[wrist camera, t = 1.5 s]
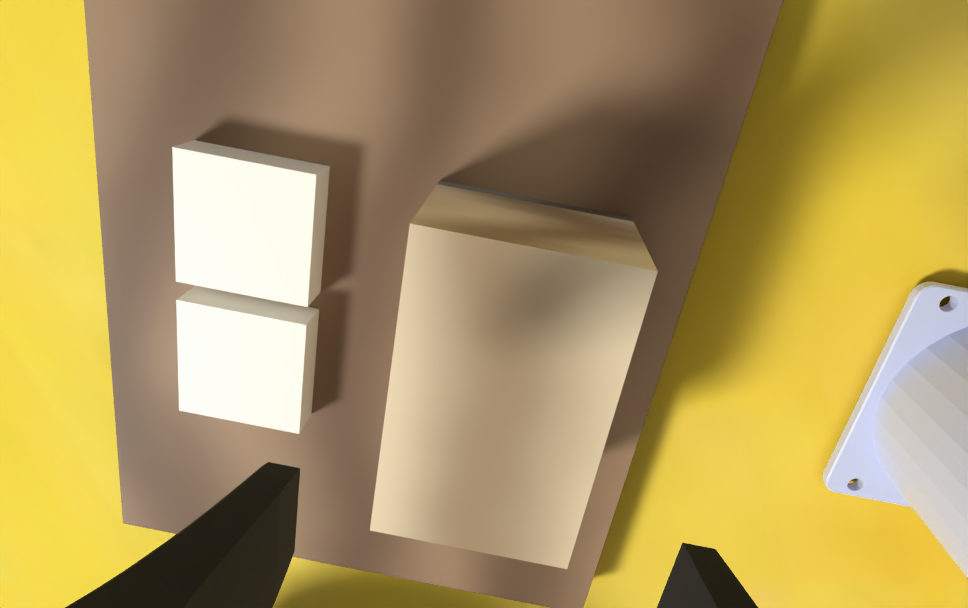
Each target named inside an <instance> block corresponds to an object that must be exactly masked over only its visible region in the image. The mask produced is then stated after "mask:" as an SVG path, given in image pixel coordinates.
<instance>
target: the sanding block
mask: <svg viewBox="0 0 968 608" xmlns="http://www.w3.org/2000/svg"><path fill="white" fill-rule="evenodd" d="M657 273H658V271H657V268H656V266H655V264H654V262H653V260H652V258H651V256H650V254H649V252H648V250H647V248H646V246H645V244H644V242H643V240H642V238H641V236H640V234H639V231H638V229H637V227H636V225H635V223H634V221H633V219H632V217H628V216H623V215H618V214H613V213H607V212H602V211H597V210H592V209H587V208H581V207H576V206H571V205H566V204H560V203H555V202H550V201H545V200H540V199H534V198H529V197H524V196H519V195H514V194H508V193H503V192H498V191H493V190H487V189H482V188H477V187H472V186H467V185H461V184H456V183H451V182H446V181H441V180H440V181H439V182H438V183H437V185H436V186H435V188H434V189H433V191H432V192H431V194H430V195H429V196H428V198H427V199H426V201H425V202H424V204H423V205H422V207H421V208H420V209H419V211H418V212H417V214H416V215H415V217H414V218H413V220H412V221H411V222H410V226H409V233H408V241H407V249H406V256H405V264H404V272H403V279H402V287H401V295H400V302H399V310H398V318H397V325H396V333H395V341H394V348H393V356H392V364H391V371H390V379H389V387H388V394H387V402H386V410H385V417H384V425H383V433H382V440H381V448H380V456H379V463H378V471H377V479H376V487H375V494H374V502H373V510H372V517H371V525H370V531H375V532H380V533H385V534H390V535H396V536H401V537H406V538H411V539H416V540H421V541H426V542H431V543H436V544H441V545H446V546H452V547H457V548H462V549H467V550H472V551H477V552H482V553H487V554H492V555H497V556H502V557H507V558H513V559H518V560H523V561H528V562H533V563H538V564H543V565H548V566H553V567H558V568H563V569H567V568H568V565H569V561H570V558H571V555H572V552H573V548H574V545H575V542H576V538H577V535H578V532H579V529H580V525H581V522H582V519H583V515H584V512H585V509H586V506H587V502H588V499H589V496H590V493H591V489H592V486H593V483H594V479H595V476H596V473H597V470H598V466H599V463H600V460H601V456H602V453H603V450H604V447H605V443H606V440H607V437H608V433H609V430H610V427H611V424H612V420H613V417H614V414H615V410H616V407H617V404H618V401H619V397H620V394H621V391H622V387H623V384H624V381H625V378H626V374H627V371H628V368H629V364H630V361H631V358H632V355H633V351H634V348H635V345H636V341H637V338H638V335H639V332H640V328H641V325H642V322H643V318H644V315H645V312H646V309H647V305H648V302H649V299H650V295H651V292H652V289H653V286H654V282H655V279H656V276H657Z"/></svg>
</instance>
